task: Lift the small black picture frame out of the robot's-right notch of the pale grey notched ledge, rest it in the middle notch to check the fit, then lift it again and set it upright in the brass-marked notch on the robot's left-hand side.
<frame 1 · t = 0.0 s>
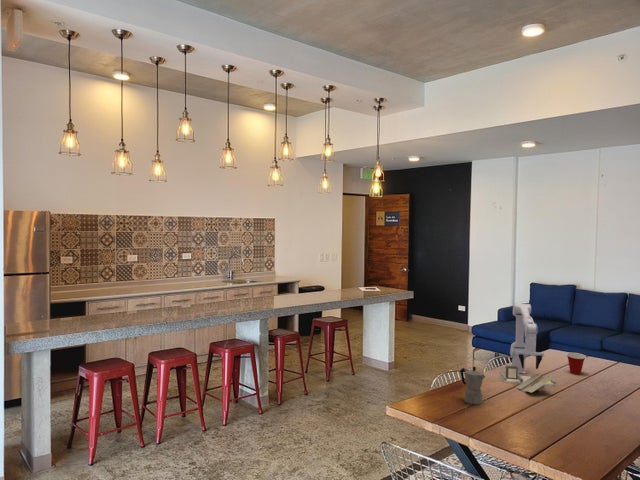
hand: (529, 368, 276), 10 cm above the table, tool pointing down, fingers open, 7 cm apart
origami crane: (533, 392, 267), on the table
picture frame: (511, 378, 287), point 1 cm above the table, touching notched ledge
plastic cup: (575, 373, 302), on the table
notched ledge: (527, 380, 285), on the table
coffeepot: (471, 401, 250), on the table
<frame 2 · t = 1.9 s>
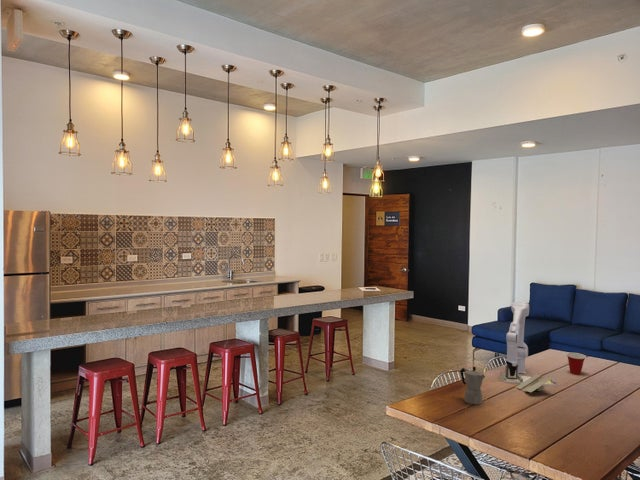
hand: (511, 374, 287), 3 cm above the table, tool pointing down, fingers closed on picture frame, 4 cm apart
picture frame: (511, 378, 287), point 1 cm above the table, touching gripper, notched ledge
everything else where it was.
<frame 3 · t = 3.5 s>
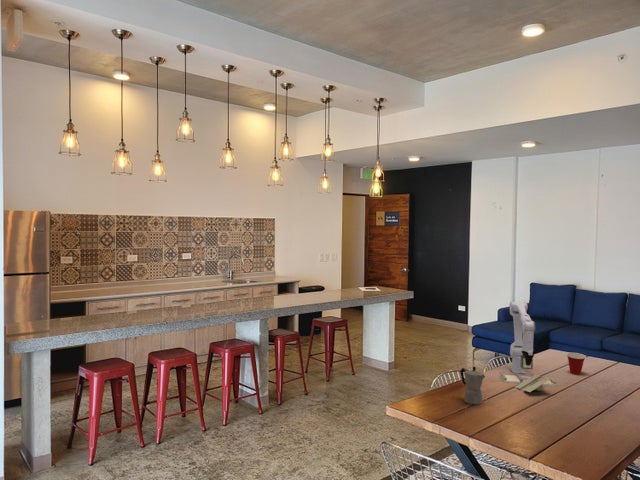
hand: (527, 364, 285), 10 cm above the table, tool pointing down, fingers closed on picture frame, 4 cm apart
picture frame: (526, 368, 285), point 8 cm above the table, touching gripper
everything else where it was.
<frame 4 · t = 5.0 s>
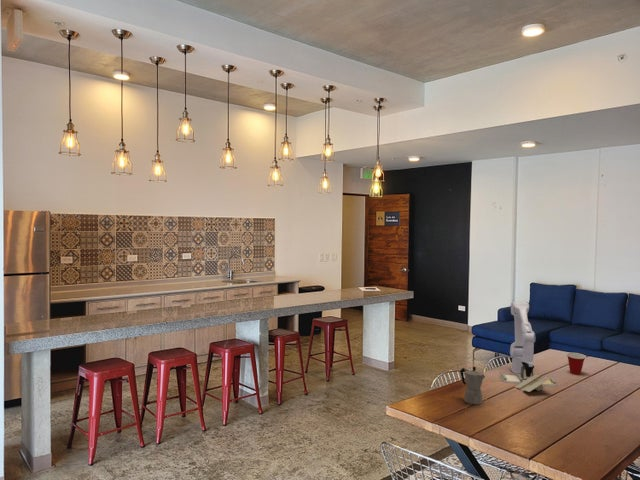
hand: (527, 375, 285), 3 cm above the table, tool pointing down, fingers closed on picture frame, 4 cm apart
picture frame: (526, 379, 285), point 1 cm above the table, touching gripper, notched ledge
everything else where it was.
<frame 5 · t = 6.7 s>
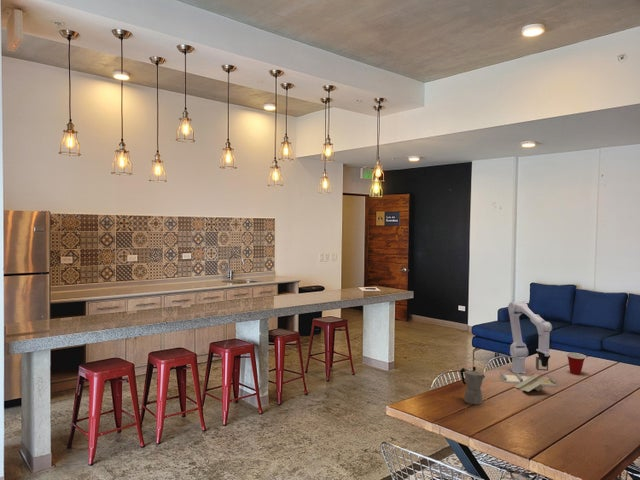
hand: (543, 365, 283), 10 cm above the table, tool pointing down, fingers closed on picture frame, 4 cm apart
picture frame: (541, 369, 283), point 7 cm above the table, touching gripper
when the fingers open (4 cm above the table, at t = 8.2 s): picture frame stays where it is, resting on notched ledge.
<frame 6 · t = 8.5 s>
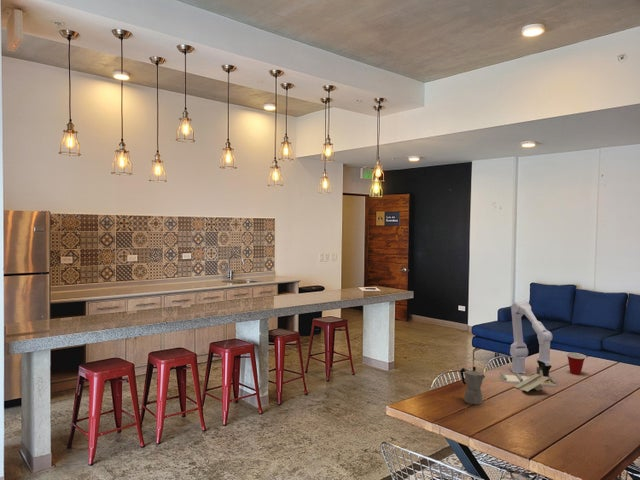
hand: (543, 374, 283), 4 cm above the table, tool pointing down, fingers open, 6 cm apart
picture frame: (542, 380, 284), point 1 cm above the table, touching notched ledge
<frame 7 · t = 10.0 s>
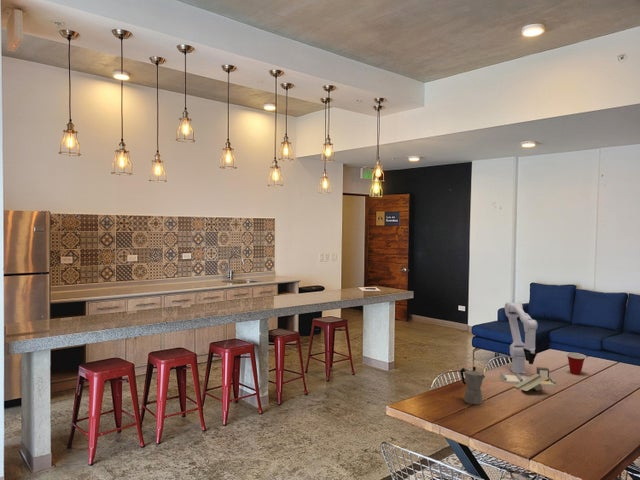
hand: (529, 362, 289), 10 cm above the table, tool pointing down, fingers open, 7 cm apart
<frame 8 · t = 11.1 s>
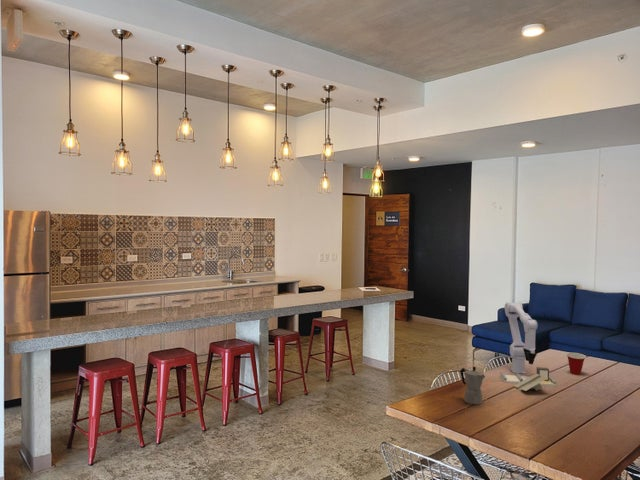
hand: (529, 362, 289), 10 cm above the table, tool pointing down, fingers open, 7 cm apart
at the end: picture frame 0.6 cm from the target spot on the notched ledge, point 1.2 cm above the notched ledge's base; picture frame tilted 0°; the gripper is holding nothing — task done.
